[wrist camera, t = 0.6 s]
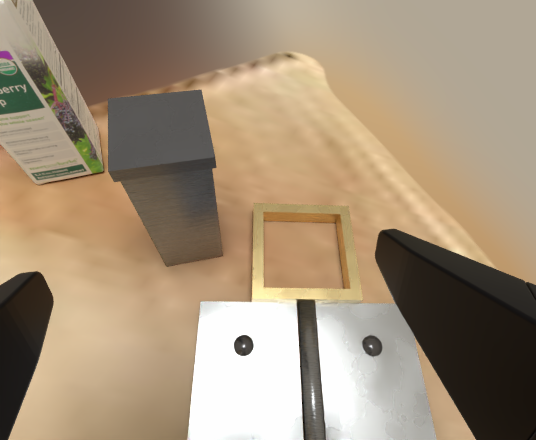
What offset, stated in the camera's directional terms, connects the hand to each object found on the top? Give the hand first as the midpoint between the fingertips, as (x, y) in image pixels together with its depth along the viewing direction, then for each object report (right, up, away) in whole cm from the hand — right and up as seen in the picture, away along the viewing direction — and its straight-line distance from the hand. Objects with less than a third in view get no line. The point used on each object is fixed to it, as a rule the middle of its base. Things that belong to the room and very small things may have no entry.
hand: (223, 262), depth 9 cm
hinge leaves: (+4, -7, +15) cm, 17 cm away
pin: (-5, 0, +18) cm, 19 cm away
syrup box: (-17, +7, +21) cm, 28 cm away
